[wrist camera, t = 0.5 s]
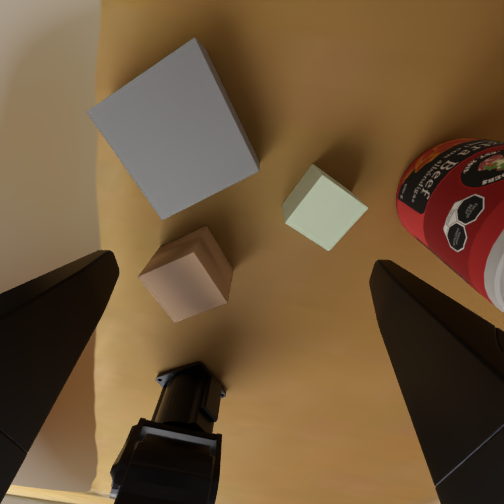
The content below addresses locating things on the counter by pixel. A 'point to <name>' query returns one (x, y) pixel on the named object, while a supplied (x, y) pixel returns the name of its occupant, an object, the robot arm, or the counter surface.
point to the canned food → (460, 210)
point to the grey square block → (177, 131)
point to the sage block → (321, 208)
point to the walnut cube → (189, 275)
